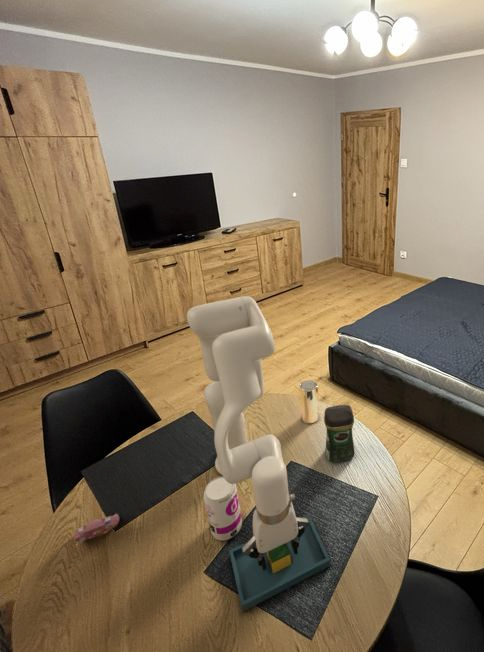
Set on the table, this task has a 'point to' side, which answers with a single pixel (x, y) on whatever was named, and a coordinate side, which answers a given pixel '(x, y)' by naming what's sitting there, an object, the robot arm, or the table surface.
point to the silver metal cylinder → (309, 400)
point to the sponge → (279, 557)
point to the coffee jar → (339, 433)
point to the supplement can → (222, 508)
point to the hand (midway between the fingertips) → (278, 556)
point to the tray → (265, 583)
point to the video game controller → (96, 528)
